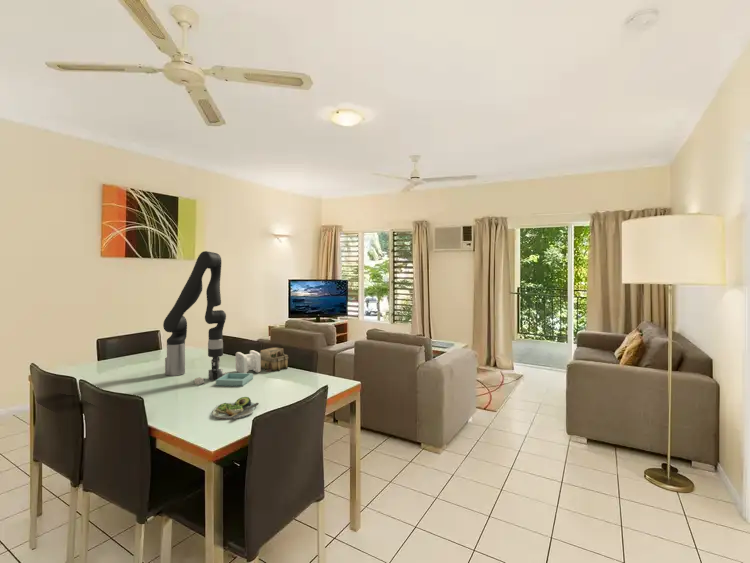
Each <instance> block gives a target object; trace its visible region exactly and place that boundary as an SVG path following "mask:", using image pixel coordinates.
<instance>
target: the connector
mask: <svg viewBox="0 0 750 563" xmlns="http://www.w3.org/2000/svg"><path fill="white" fill-rule="evenodd" d="M214 370H216V369H214ZM217 371H218V372H217V379H218V378H220V377H222V376H223V375H225V374H227V373H226V372H223V369H222V368H219V369H217ZM208 380H209V381H214V380H213V373H212V368H210V369H208Z"/></svg>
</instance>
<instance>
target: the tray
mask: <svg viewBox="0 0 750 563" xmlns="http://www.w3.org/2000/svg"><path fill="white" fill-rule="evenodd" d="M252 380H254V373H250V372H249V373H248V372H247V373H239V372H227V373H226V374H225V375H222V377H220V378H218V379H217V380H215V386H217V387H244V386H246V385H247V384H249V382H252Z"/></svg>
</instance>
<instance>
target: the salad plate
mask: <svg viewBox="0 0 750 563" xmlns="http://www.w3.org/2000/svg"><path fill="white" fill-rule="evenodd" d="M257 406H259V402H255V403H254V402H252V400H251V398H250V397H249V396H242V397H239V398H238V399H237V400H236V401H235V402H224V403H220V404H218V405H216V406H215V407H214V409H213V411H212V412H211V416H212V417H214V418H215V419H217V420H236V419H238V420H239V419H241V418H244V417H248V416H250V415H252V414H253V413H254V411H255V408H256V407H257ZM219 413H220V414H227V416H221V415H219Z"/></svg>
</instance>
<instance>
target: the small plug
mask: <svg viewBox="0 0 750 563" xmlns="http://www.w3.org/2000/svg"><path fill="white" fill-rule="evenodd" d="M204 383H205V381H204V378H202V377H196V378H194V384H196V385H203V384H204Z"/></svg>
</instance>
